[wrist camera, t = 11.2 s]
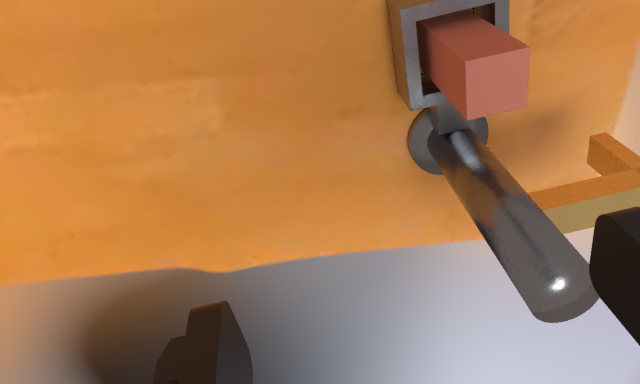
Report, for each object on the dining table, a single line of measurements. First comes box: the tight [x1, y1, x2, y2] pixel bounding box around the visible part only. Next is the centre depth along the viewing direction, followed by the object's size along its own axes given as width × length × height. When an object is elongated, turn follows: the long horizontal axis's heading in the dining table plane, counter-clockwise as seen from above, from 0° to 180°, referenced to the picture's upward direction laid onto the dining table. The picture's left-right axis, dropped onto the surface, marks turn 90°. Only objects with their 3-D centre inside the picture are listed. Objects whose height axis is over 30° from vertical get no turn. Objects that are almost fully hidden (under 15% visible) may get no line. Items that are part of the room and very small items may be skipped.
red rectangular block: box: [416, 9, 530, 120], centre depth 34 cm, size 4×4×11 cm
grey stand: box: [387, 0, 640, 323], centre depth 32 cm, size 16×14×20 cm
